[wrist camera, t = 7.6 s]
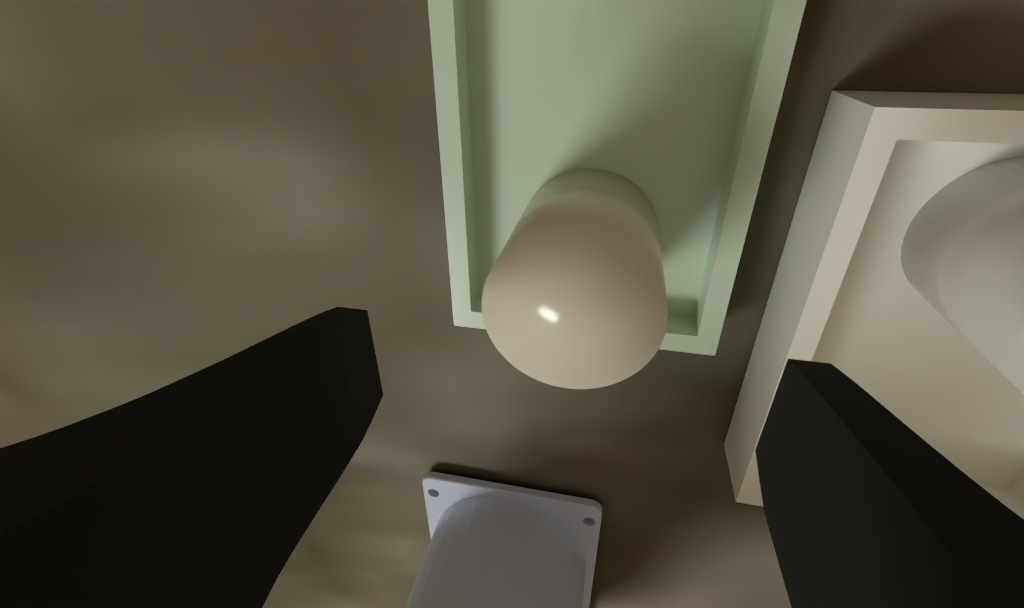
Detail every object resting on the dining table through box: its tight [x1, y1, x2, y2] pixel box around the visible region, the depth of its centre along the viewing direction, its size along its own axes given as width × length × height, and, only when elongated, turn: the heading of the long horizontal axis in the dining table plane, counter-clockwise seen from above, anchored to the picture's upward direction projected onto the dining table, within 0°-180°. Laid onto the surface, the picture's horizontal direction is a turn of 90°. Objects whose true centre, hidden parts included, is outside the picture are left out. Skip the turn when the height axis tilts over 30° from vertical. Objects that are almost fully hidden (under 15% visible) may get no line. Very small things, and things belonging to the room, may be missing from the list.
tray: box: [428, 0, 807, 356], centre depth 13 cm, size 12×8×2 cm, turn 1°
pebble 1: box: [482, 168, 668, 389], centre depth 12 cm, size 4×4×4 cm
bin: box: [724, 90, 1024, 519], centre depth 13 cm, size 12×9×2 cm
